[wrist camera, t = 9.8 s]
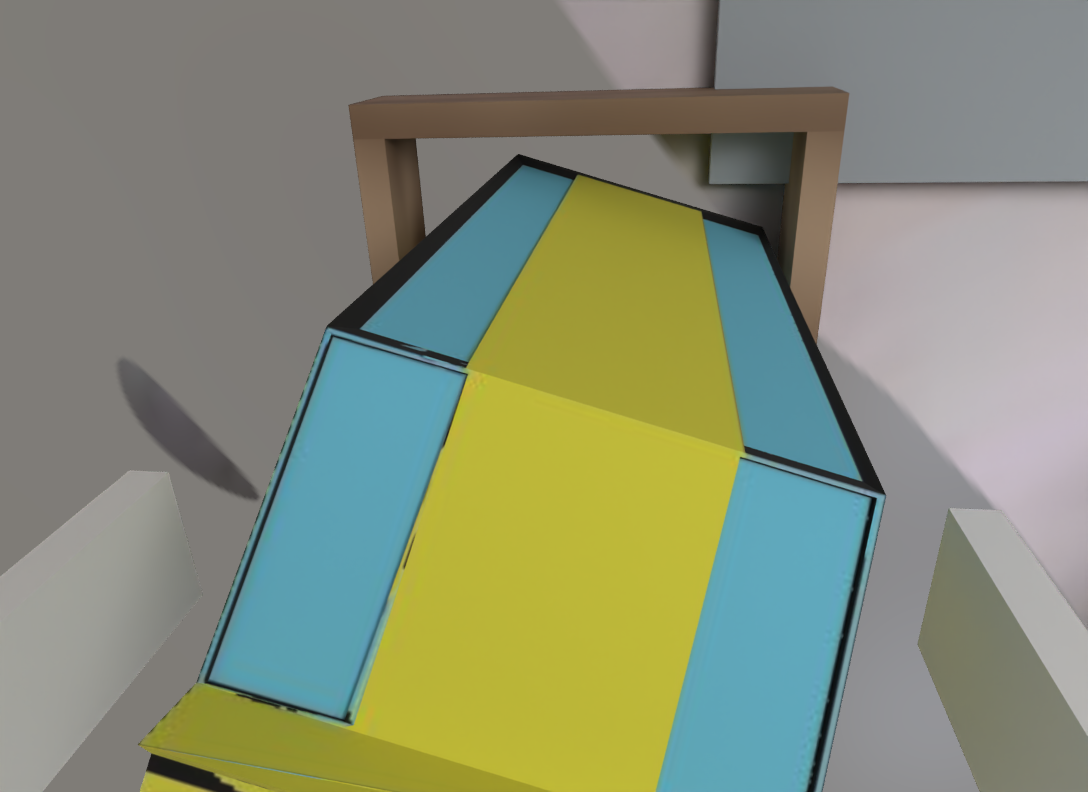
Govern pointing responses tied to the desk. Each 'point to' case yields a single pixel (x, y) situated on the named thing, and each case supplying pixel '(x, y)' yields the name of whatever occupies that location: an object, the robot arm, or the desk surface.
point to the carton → (548, 523)
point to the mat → (915, 87)
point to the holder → (806, 111)
